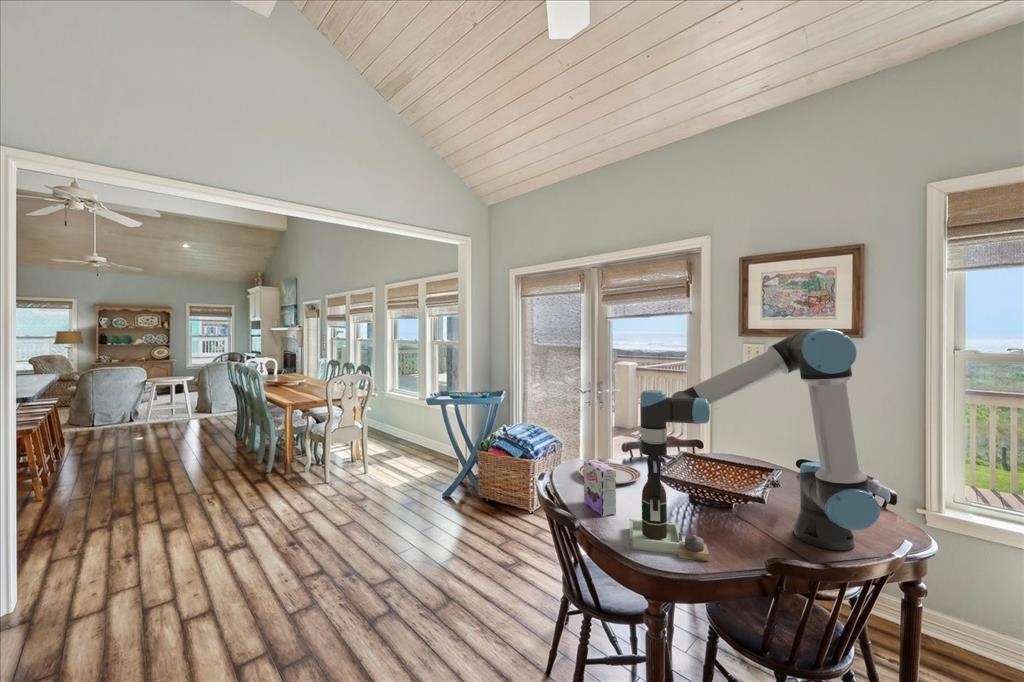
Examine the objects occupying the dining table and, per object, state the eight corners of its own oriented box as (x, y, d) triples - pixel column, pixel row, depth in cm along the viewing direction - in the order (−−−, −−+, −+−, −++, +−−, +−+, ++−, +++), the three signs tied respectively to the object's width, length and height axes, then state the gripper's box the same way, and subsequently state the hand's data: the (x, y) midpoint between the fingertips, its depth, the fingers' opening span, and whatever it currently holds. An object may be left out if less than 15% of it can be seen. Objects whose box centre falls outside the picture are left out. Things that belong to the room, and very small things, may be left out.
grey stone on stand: (705, 550, 126) (705, 532, 126) (709, 561, 120) (709, 542, 120) (676, 547, 128) (676, 529, 128) (678, 557, 122) (678, 538, 122)
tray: (678, 533, 137) (678, 523, 137) (683, 554, 123) (683, 544, 123) (629, 528, 141) (629, 519, 141) (629, 549, 127) (629, 539, 127)
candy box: (583, 503, 163) (583, 460, 163) (597, 501, 165) (596, 458, 164) (602, 517, 150) (601, 470, 149) (616, 515, 151) (616, 468, 151)
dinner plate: (642, 471, 200) (642, 464, 200) (640, 491, 174) (640, 483, 174) (583, 466, 209) (583, 459, 209) (573, 485, 183) (573, 477, 183)
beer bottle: (671, 533, 132) (671, 456, 132) (661, 543, 127) (660, 462, 126) (647, 526, 138) (646, 452, 137) (637, 535, 132) (636, 457, 132)
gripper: (639, 433, 143) (640, 501, 143) (641, 448, 123) (642, 528, 123) (663, 434, 141) (664, 503, 141) (669, 450, 121) (670, 530, 121)
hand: (654, 514), depth 132 cm, fingers closed on beer bottle, 7 cm apart
